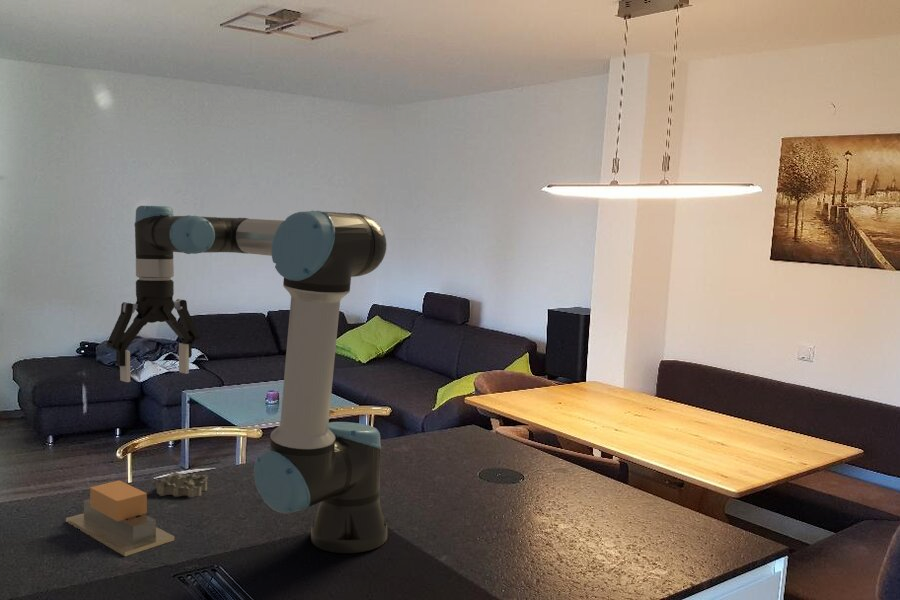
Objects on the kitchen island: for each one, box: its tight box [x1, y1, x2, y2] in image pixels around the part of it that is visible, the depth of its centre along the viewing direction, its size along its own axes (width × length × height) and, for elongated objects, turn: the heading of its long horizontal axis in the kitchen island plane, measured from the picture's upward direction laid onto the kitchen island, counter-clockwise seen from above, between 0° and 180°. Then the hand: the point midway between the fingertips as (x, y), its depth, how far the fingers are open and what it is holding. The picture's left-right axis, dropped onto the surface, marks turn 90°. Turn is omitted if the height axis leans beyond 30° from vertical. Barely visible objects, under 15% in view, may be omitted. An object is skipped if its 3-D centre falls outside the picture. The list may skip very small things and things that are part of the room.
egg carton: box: [154, 472, 210, 498], centre depth 172 cm, size 11×8×4 cm
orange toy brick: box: [89, 480, 148, 521], centre depth 149 cm, size 11×6×7 cm, turn 51°
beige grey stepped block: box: [65, 498, 175, 557], centre depth 149 cm, size 24×10×4 cm, turn 51°
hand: (155, 376), depth 161 cm, fingers open, 13 cm apart
